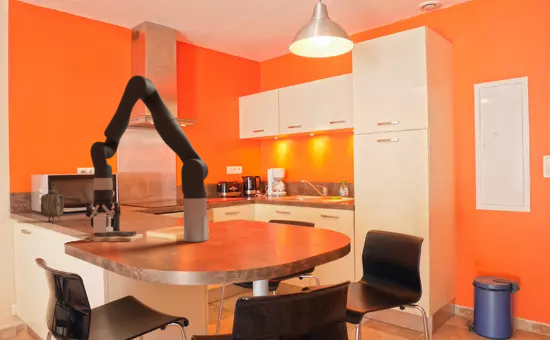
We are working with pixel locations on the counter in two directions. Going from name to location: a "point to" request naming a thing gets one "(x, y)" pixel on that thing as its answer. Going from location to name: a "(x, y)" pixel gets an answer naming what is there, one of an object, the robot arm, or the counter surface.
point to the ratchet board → (115, 236)
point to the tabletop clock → (52, 203)
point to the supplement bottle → (117, 226)
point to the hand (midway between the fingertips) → (103, 226)
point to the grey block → (102, 224)
